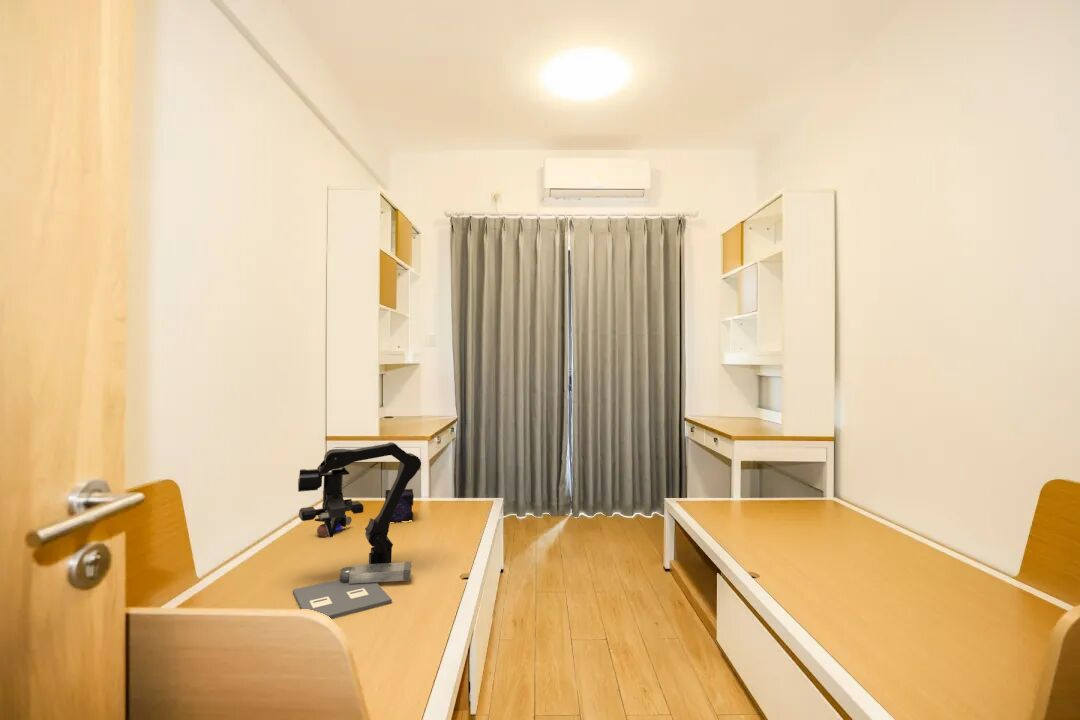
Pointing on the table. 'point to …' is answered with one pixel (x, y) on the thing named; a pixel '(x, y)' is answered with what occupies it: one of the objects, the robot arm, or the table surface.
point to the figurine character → (342, 523)
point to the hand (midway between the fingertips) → (330, 537)
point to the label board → (341, 597)
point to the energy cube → (403, 506)
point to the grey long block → (376, 572)
